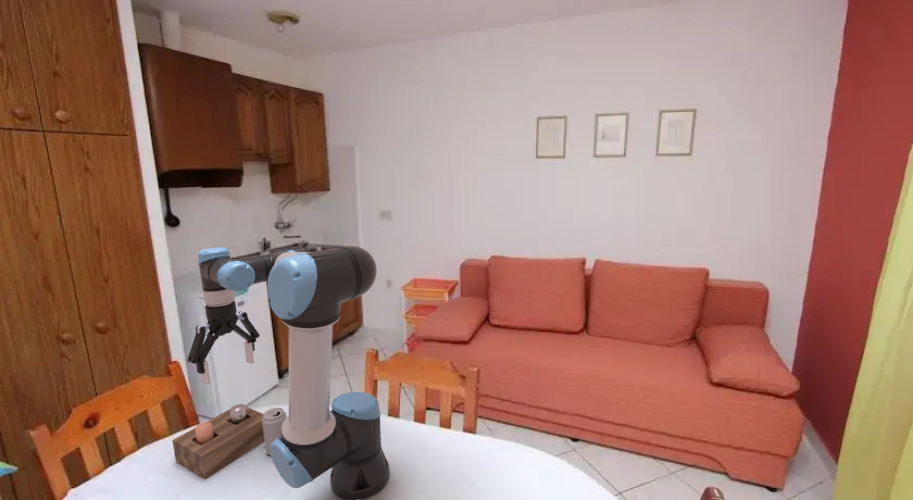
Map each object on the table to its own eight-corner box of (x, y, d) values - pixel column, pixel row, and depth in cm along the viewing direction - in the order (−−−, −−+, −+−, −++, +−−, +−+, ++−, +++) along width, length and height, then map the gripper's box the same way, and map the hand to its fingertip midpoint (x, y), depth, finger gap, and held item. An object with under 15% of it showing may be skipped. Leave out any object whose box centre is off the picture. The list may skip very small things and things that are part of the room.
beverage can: (280, 458, 115) (276, 420, 113) (260, 455, 117) (256, 418, 114) (293, 444, 121) (290, 407, 119) (274, 441, 123) (270, 405, 120)
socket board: (270, 436, 125) (268, 416, 124) (204, 479, 108) (201, 456, 106) (242, 423, 132) (239, 403, 130) (175, 462, 114) (172, 439, 113)
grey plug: (249, 424, 124) (247, 406, 123) (237, 431, 120) (235, 413, 119) (241, 420, 126) (239, 402, 125) (229, 427, 122) (226, 409, 121)
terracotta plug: (217, 443, 115) (215, 424, 114) (203, 451, 112) (200, 432, 111) (209, 439, 117) (206, 420, 116) (194, 447, 114) (192, 428, 113)
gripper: (251, 289, 127) (258, 352, 131) (164, 314, 106) (176, 389, 110) (267, 292, 124) (274, 357, 128) (181, 318, 102) (193, 395, 106)
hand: (229, 372), depth 119 cm, fingers open, 13 cm apart
